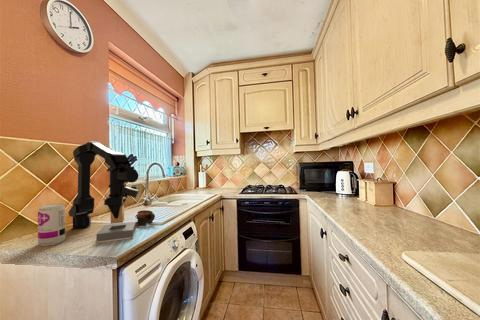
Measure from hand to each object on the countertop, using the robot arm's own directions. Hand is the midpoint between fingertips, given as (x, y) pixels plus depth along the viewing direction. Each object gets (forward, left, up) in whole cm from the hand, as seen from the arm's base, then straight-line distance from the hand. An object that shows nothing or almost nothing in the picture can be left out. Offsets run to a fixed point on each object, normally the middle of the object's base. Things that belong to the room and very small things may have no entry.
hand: (117, 217), depth 92 cm
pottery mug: (+11, +13, -8) cm, 19 cm away
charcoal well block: (0, 0, -8) cm, 8 cm away
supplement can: (-23, +1, -8) cm, 25 cm away
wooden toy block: (0, 0, -2) cm, 2 cm away
